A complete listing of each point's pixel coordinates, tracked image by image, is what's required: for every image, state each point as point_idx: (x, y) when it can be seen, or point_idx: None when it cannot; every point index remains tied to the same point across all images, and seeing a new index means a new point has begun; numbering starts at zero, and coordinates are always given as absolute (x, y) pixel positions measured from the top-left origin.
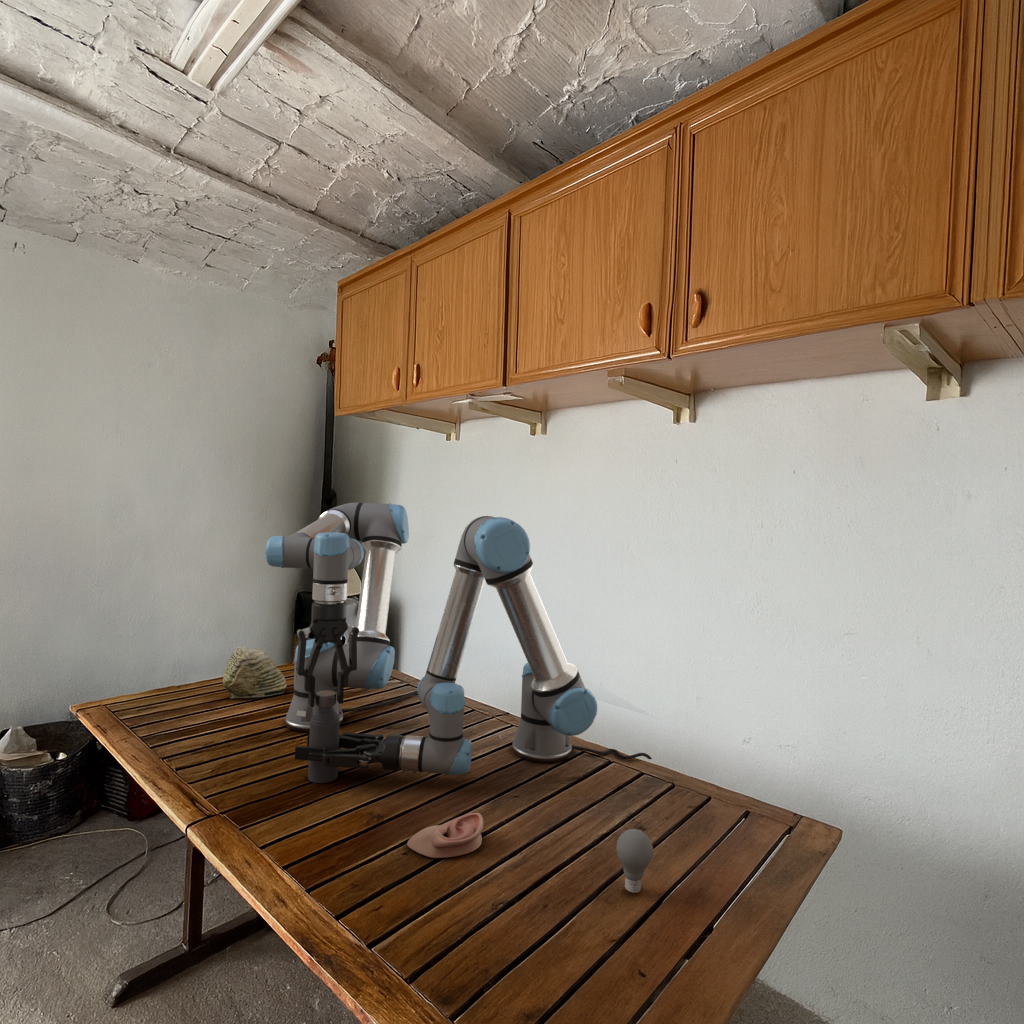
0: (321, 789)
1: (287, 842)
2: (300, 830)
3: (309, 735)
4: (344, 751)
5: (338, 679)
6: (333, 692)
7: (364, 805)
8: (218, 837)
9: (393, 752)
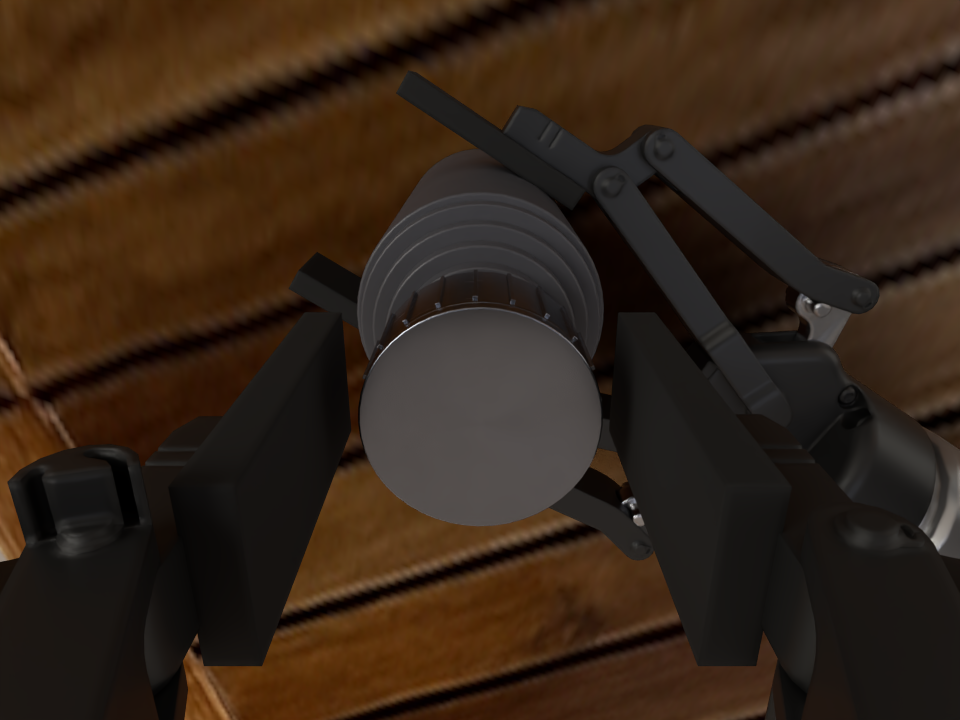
0: None
1: (273, 652)
2: (319, 607)
3: (408, 100)
4: None
5: (683, 477)
6: (572, 423)
7: (568, 539)
8: None
9: None
